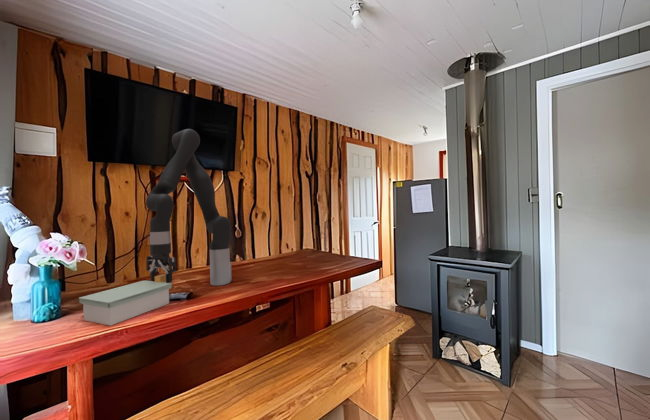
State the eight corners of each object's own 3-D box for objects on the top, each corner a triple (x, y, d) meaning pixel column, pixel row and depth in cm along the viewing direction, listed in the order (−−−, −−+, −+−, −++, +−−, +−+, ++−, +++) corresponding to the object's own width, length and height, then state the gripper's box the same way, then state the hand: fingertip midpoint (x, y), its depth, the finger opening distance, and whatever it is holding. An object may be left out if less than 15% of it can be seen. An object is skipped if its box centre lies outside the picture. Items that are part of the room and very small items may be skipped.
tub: (144, 299, 113) (143, 282, 113) (169, 303, 108) (168, 285, 108) (83, 320, 93) (83, 299, 93) (110, 325, 88) (109, 303, 88)
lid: (153, 282, 118) (152, 272, 117) (180, 285, 112) (179, 275, 112) (78, 303, 93) (78, 291, 93) (108, 308, 87) (108, 295, 87)
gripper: (181, 241, 114) (182, 280, 114) (156, 240, 119) (157, 278, 119) (164, 244, 107) (165, 285, 107) (139, 243, 112) (140, 282, 112)
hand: (161, 281), depth 113 cm, fingers open, 8 cm apart
